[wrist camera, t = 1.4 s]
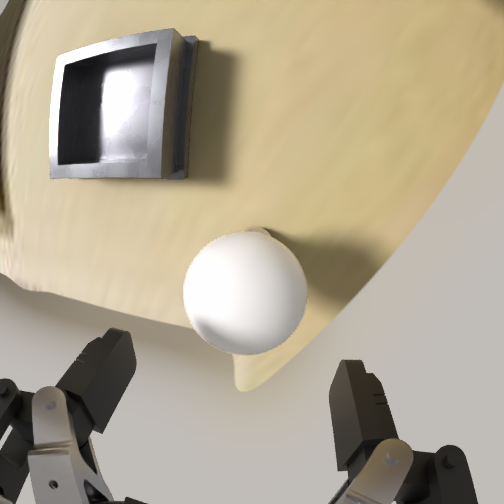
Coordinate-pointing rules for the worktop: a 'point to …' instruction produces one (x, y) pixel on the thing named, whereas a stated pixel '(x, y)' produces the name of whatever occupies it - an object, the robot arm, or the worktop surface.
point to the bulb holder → (124, 108)
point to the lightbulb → (245, 292)
